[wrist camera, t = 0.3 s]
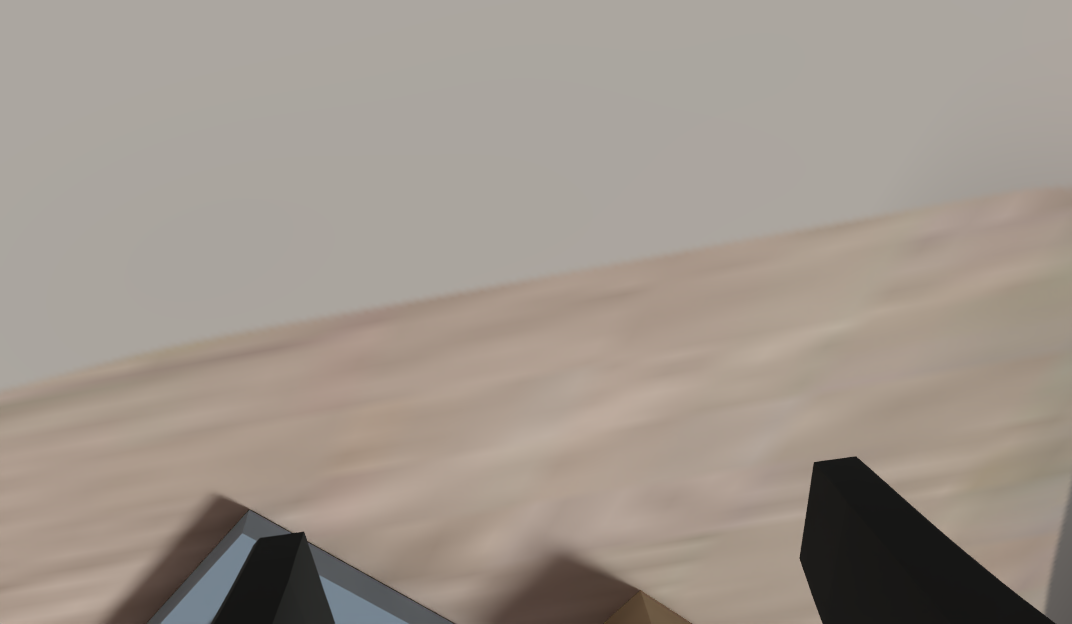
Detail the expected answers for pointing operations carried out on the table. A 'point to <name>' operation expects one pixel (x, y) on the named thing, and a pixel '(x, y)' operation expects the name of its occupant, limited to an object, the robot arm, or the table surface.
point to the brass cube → (645, 612)
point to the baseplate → (354, 598)
